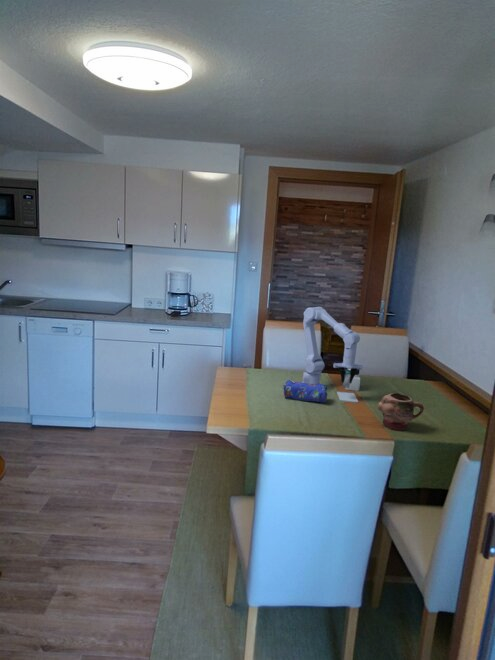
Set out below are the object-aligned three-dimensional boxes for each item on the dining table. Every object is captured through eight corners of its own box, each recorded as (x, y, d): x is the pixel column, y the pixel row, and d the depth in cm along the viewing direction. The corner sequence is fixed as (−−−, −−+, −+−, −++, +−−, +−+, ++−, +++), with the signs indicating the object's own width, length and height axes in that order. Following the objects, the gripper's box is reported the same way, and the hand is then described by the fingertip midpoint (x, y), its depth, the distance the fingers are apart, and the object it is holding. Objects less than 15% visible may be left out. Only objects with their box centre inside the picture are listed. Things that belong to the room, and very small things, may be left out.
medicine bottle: (357, 387, 245) (359, 366, 242) (359, 391, 238) (361, 370, 235) (344, 385, 245) (346, 365, 243) (345, 389, 238) (348, 368, 236)
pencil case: (281, 399, 217) (282, 381, 215) (283, 393, 226) (285, 376, 224) (325, 406, 213) (328, 387, 211) (326, 400, 221) (328, 382, 219)
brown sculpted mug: (413, 421, 201) (418, 393, 198) (425, 433, 189) (430, 402, 186) (371, 419, 199) (375, 390, 196) (380, 431, 187) (385, 400, 185)
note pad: (340, 401, 220) (340, 399, 220) (336, 392, 233) (336, 391, 233) (358, 402, 220) (358, 401, 220) (353, 393, 233) (353, 392, 233)
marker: (342, 387, 220) (344, 371, 218) (341, 385, 224) (343, 369, 222) (349, 388, 220) (351, 371, 218) (348, 385, 223) (350, 369, 222)
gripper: (336, 357, 215) (333, 383, 218) (365, 359, 214) (362, 386, 217) (334, 353, 222) (331, 379, 225) (362, 355, 221) (359, 381, 224)
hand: (346, 382), depth 221 cm, fingers closed on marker, 3 cm apart
